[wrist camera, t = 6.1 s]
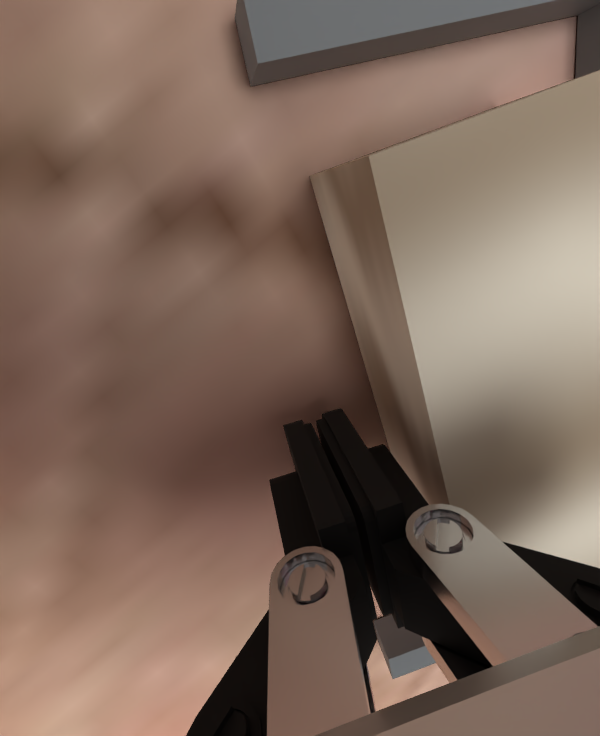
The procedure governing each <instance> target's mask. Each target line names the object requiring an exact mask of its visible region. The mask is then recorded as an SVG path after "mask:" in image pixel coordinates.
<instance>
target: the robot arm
mask: <svg viewBox="0 0 600 736" xmlns="http://www.w3.org/2000/svg"><path fill="white" fill-rule="evenodd" d="M316 423H317V428H318V432H319V436H320V441H321V443H320V441H319V439H318V437H317V434H316V432H315V430H314V428H313V426H312V424H311V423H308V424H304V423H303V421H302V420H300V421H296V422H293V423H290V424H286V425H283V427H284V430H285V434H286V438H287V441H288V445H289V448H290V452H291V456H292V459H293V463H294V466H295V470H296V472H293V473H290V474H286V475H283V476H280V477H277V478H274V479H270V486H271V491H272V496H273V500H274V505H275V510H276V515H277V519H278V524H279V529H280V534H281V538H282V543H283V548H284V553H285V556H284V557H283V558H282V559H281V560H280V561H279V562H278V563H277V565H276V566H275V568H274V570H273V572H272V574H271V579H270V587H269V610H268V611H267V613H266V614H265V616H264V617H263V619H262V620H261V622H260V623H259V625H258V626H257V628H256V629H255V631H254V632H253V634H252V635H251V636H250V638H249V639H248V641H247V642H246V644H245V645H244V647H243V648H242V650H241V651H240V653H239V654H238V656H237V657H236V659H235V660H234V662H233V663H232V665H231V666H230V667H229V669H228V670H227V672H226V673H225V675H224V676H223V678H222V679H221V681H220V682H219V684H218V685H217V687H216V688H215V690H214V691H213V693H212V694H211V696H210V697H209V699H208V700H207V701H206V703H205V704H204V706H203V707H202V709H201V710H200V712H199V713H198V715H197V716H196V718H195V720H194V722H193V724H192V725H191V727H190V729H189V731H188V733H187V735H186V736H600V568H597V567H593V566H590V565H586V564H583V563H579V562H575V561H572V560H568V559H564V558H561V557H557V556H553V555H550V554H546V553H542V552H539V551H535V550H532V549H528V548H524V547H521V546H517V545H513V544H510V543H506V542H502V541H501V540H500V539H499V538H497V537H496V536H495V535H494V534H493V533H492V532H491V531H489V530H488V529H487V528H486V527H485V526H484V525H483V524H482V523H480V522H479V521H478V520H477V519H476V518H475V517H474V516H473V515H471V514H470V513H468V512H467V511H465V510H464V509H461V508H459V507H456V506H453V505H447V504H431V505H429V504H428V503H427V501H426V500H425V499H424V497H423V496H422V495H421V493H420V492H419V490H418V489H417V488H416V486H415V485H414V484H413V482H412V481H411V480H410V478H409V477H408V476H407V474H406V473H405V471H404V470H403V469H402V467H401V466H400V465H399V463H398V462H397V461H396V459H395V458H394V457H393V455H392V454H391V452H390V451H389V450H388V448H387V447H386V446H385V445H383V444H382V445H379V446H375V447H372V448H369V449H368V448H367V447H366V445H365V444H364V442H363V441H362V439H361V438H360V436H359V435H358V433H357V432H356V430H355V429H354V427H353V425H352V424H351V422H350V421H349V419H348V418H347V416H346V415H345V413H344V412H343V410H342V409H341V408H340V409H336V410H333V411H330V412H326V413H323V414H322V419H321V420H318V421H316ZM370 586H371V588H370ZM371 589H372V591H373V593H374V596H375V598H376V600H377V603H378V605H379V608H380V610H381V612H382V614H383V616H385V615H388V614H392V616H393V618H394V621H395V623H396V625H397V627H398V629H399V628H401V627H405V629H406V630H409V631H411V632H413V633H415V634H418V635H420V636H422V640H423V642H424V644H425V646H426V648H427V650H428V651H429V653H430V654H431V656H432V657H433V659H434V660H435V662H436V663H437V665H438V666H439V668H440V669H441V671H442V672H443V674H444V675H445V677H446V678H447V680H448V681H449V684H446V685H444V686H441V687H439V688H436V689H433V690H431V691H428V692H426V693H423V694H420V695H418V696H415V697H413V698H410V699H407V700H405V701H402V702H400V703H397V704H394V705H392V706H389V707H387V708H384V709H381V710H379V711H376V708H375V702H374V697H373V692H372V687H371V682H370V677H369V671H368V667H367V661H368V659H369V657H370V654H371V652H372V650H373V647H374V645H375V643H376V640H377V637H376V633H375V628H374V624H373V620H374V619H377V615H376V611H375V606H374V602H373V597H372V592H371Z"/></svg>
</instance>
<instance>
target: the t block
mask: <svg viewBox="0 0 600 736" xmlns="http://www.w3.org/2000/svg"><path fill="white" fill-rule="evenodd" d="M310 180H311V183H312V186H313V190H314V193H315V197H316V200H317V204H318V207H319V210H320V214H321V217H322V221H323V224H324V227H325V231H326V234H327V238H328V241H329V245H330V248H331V251H332V255H333V258H334V262H335V265H336V268H337V272H338V275H339V279H340V282H341V286H342V289H343V292H344V296H345V299H346V303H347V306H348V309H349V313H350V316H351V320H352V323H353V327H354V330H355V333H356V337H357V340H358V344H359V347H360V350H361V354H362V357H363V361H364V364H365V368H366V371H367V374H368V378H369V381H370V385H371V388H372V391H373V395H374V398H375V402H376V405H377V409H378V412H379V415H380V419H381V422H382V426H383V429H384V432H385V436H386V439H387V443H388V446H389V450H390V452H391V454H392V455H393V457H394V458H395V459H396V461H397V462H398V463H399V465H400V466H401V467H402V469H403V470H404V471H405V473H406V474H407V476H408V477H409V478H410V480H411V481H412V482H413V484H414V485H415V486H416V488H417V489H418V490H419V492H420V493H421V495H422V496H423V497H424V499H425V500H426V501H427V503H428V504H429V505H431V504H447V505H453V506H456V507H459V508H461V509H464V510H465V511H467V512H468V513H470V514H471V515H473V516H474V517H475V518H476V519H477V520H478V521H479V522H480V523H482V524H483V525H484V526H485V527H486V528H487V529H488V530H489V531H491V532H492V533H493V534H494V535H495V536H496V537H497V538H499V539H500V540H501V541H502V542H506V543H510V544H513V545H517V546H521V547H524V548H528V549H532V550H535V551H539V552H542V553H546V554H550V555H553V556H557V557H561V558H564V559H568V560H572V561H575V562H579V563H583V564H586V565H590V566H593V567H597V568H600V70H598V71H595V72H592V73H590V74H587V75H584V76H581V77H578V78H576V79H573V80H570V81H567V82H565V83H562V84H559V85H556V86H553V87H551V88H548V89H545V90H542V91H540V92H537V93H534V94H531V95H528V96H526V97H523V98H520V99H517V100H515V101H512V102H509V103H506V104H504V105H501V106H498V107H495V108H493V109H490V110H487V111H484V112H482V113H479V114H476V115H474V116H471V117H468V118H465V119H463V120H460V121H457V122H455V123H452V124H449V125H447V126H444V127H441V128H438V129H436V130H433V131H430V132H428V133H425V134H422V135H419V136H417V137H414V138H411V139H409V140H406V141H403V142H401V143H398V144H395V145H392V146H390V147H387V148H384V149H382V150H379V151H376V152H373V153H371V154H368V155H365V156H363V157H360V158H357V159H355V160H352V161H349V162H346V163H344V164H341V165H338V166H336V167H333V168H330V169H327V170H325V171H322V172H319V173H317V174H314V175H311V176H310Z"/></svg>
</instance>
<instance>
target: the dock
mask: <svg viewBox="0 0 600 736" xmlns="http://www.w3.org/2000/svg"><path fill="white" fill-rule="evenodd" d="M577 15H578V26H577V50H576V73H575V79H576V78H578V77H581V76H584V75H587V74H590V73H592V72H595V71H598V70H600V0H237V5H236V13H235V21H236V25H237V29H238V34H239V38H240V43H241V47H242V51H243V56H244V60H245V64H246V69H247V73H248V77H249V82H250V86H255V85H260V84H264V83H269V82H273V81H278V80H283V79H287V78H292V77H296V76H301V75H306V74H310V73H315V72H319V71H324V70H329V69H333V68H338V67H342V66H347V65H352V64H356V63H361V62H365V61H370V60H375V59H379V58H384V57H388V56H393V55H398V54H402V53H407V52H411V51H416V50H421V49H425V48H430V47H434V46H439V45H444V44H448V43H453V42H457V41H462V40H467V39H471V38H476V37H480V36H485V35H490V34H494V33H499V32H503V31H508V30H512V29H517V28H522V27H526V26H531V25H535V24H540V23H545V22H549V21H554V20H558V19H563V18H568V17H572V16H577ZM373 622H374V626H375V630H376V635H377V639H378V642H379V645H380V647H381V650H382V652H383V655H384V658H385V660H386V663H387V665H388V668H389V671H390V673H391V676H392V678H393V679H395V678H397V677H400V676H403V675H405V674H408V673H410V672H413V671H416V670H418V669H421V668H424V667H426V666H429V665H431V664H434V663H436V662H435V660H434V659H433V657H432V656H431V654H430V653H429V651H428V650H427V648H426V646H425V644H424V642H423V640H422V636H420V635H418V634H415V633H413V632H411V631H409V630H406V629H405V627H401V628H399V629H398V627H397V625H396V623H395V621H394V618H393V616H392V614H391V615H388V616H385V617H383V618H380V619H377V620H374V621H373Z"/></svg>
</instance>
